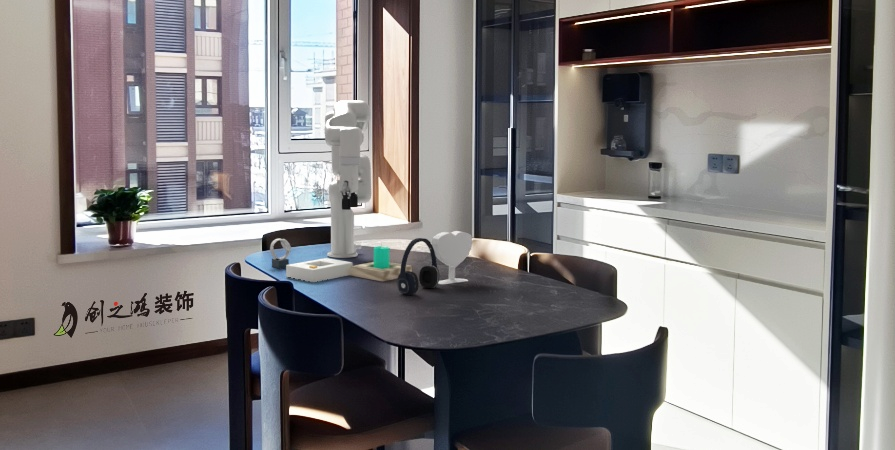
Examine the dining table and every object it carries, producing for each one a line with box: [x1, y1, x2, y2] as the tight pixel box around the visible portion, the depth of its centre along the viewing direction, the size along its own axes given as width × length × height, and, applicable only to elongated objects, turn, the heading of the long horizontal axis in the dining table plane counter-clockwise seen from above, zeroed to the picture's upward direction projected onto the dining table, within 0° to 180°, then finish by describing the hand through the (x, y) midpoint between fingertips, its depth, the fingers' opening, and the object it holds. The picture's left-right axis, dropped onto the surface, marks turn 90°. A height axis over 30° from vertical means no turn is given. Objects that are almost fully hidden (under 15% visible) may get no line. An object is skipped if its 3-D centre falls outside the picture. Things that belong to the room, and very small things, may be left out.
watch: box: [269, 238, 292, 269], centre depth 336 cm, size 6×8×11 cm
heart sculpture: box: [431, 230, 473, 285], centre depth 313 cm, size 16×5×18 cm, turn 127°
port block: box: [285, 257, 354, 283], centre depth 320 cm, size 20×14×5 cm
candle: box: [373, 243, 390, 269], centre depth 323 cm, size 6×6×12 cm
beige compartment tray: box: [350, 261, 413, 282], centre depth 323 cm, size 16×16×4 cm
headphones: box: [397, 237, 440, 296], centre depth 296 cm, size 20×7×18 cm, turn 149°
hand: (349, 208), depth 321 cm, fingers open, 9 cm apart
